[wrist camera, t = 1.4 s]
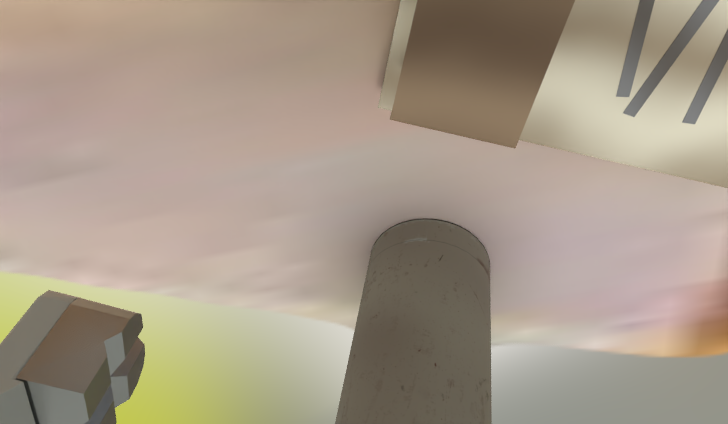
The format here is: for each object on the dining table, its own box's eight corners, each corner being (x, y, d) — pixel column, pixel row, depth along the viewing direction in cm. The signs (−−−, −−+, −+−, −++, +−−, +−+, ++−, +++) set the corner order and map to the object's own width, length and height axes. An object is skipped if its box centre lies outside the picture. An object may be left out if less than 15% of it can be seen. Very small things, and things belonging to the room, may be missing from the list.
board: (449, -223, 24) (446, -218, 22) (923, -116, 24) (954, -104, 22) (382, 89, 33) (377, 107, 31) (725, 167, 33) (737, 190, 31)
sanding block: (449, -138, 24) (442, -110, 20) (585, -107, 24) (604, -73, 20) (402, 67, 30) (389, 119, 26) (511, 92, 30) (515, 148, 26)
